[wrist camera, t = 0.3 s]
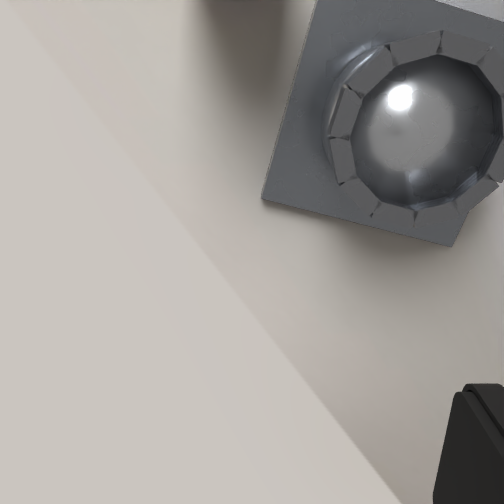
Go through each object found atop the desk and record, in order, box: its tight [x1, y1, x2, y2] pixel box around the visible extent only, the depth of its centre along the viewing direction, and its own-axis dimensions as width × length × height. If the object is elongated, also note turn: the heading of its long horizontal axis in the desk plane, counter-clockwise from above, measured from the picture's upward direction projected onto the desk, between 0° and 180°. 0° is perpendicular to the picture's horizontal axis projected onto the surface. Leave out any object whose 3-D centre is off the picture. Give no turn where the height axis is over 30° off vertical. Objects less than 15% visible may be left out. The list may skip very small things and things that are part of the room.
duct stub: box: [261, 0, 504, 247], centre depth 32 cm, size 16×16×7 cm
